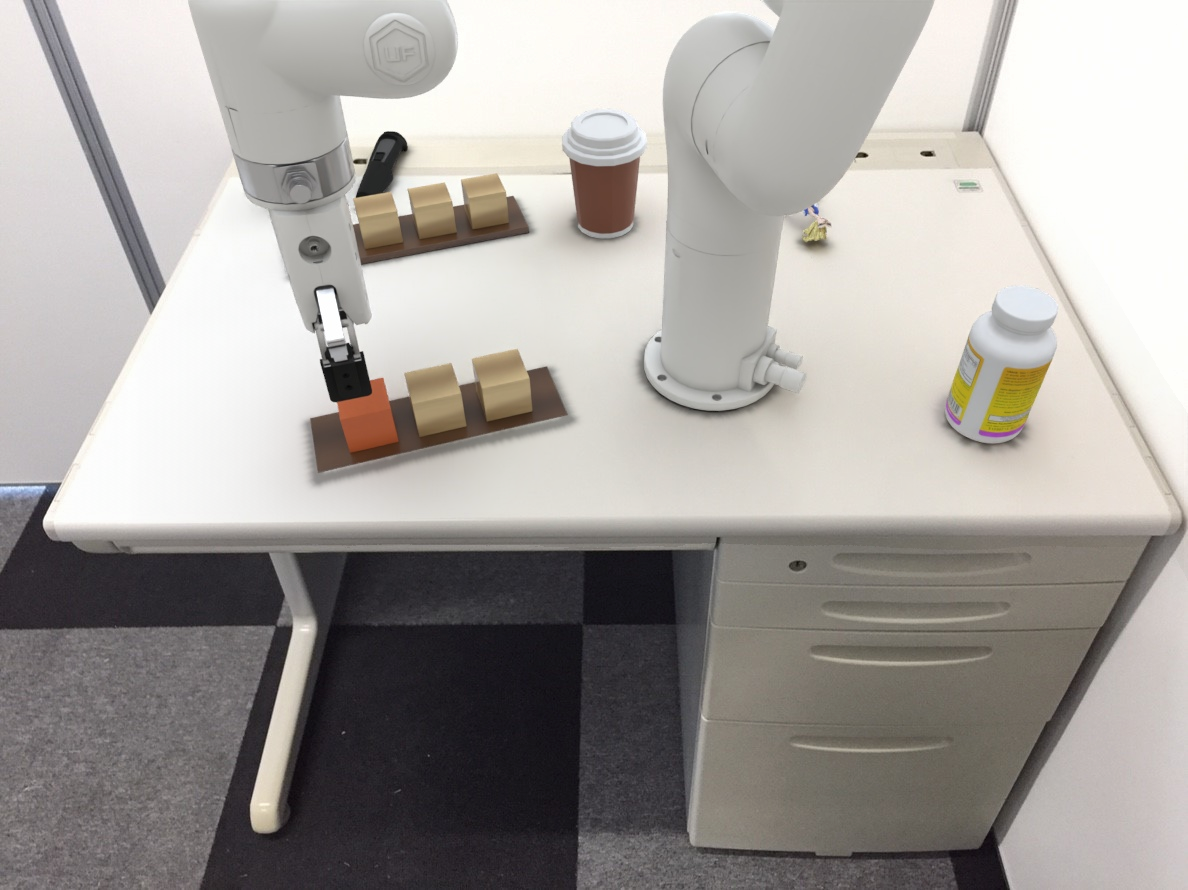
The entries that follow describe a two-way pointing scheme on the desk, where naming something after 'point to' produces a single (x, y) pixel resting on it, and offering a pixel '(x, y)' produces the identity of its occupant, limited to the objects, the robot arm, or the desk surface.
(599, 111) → the coffee cup
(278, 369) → the desk surface
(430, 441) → the near word
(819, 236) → the figurine
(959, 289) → the desk surface
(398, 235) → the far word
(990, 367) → the supplement bottle
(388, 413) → the orange toy cube
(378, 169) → the utility knife
